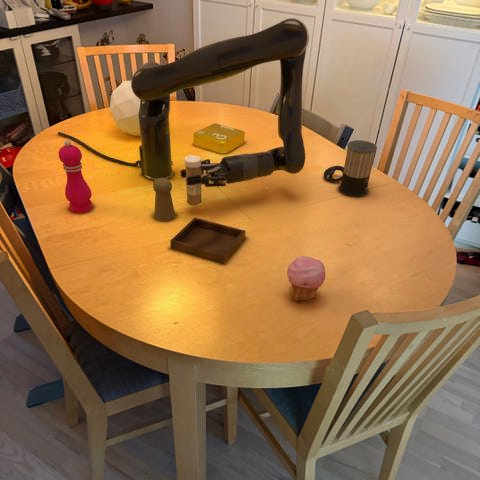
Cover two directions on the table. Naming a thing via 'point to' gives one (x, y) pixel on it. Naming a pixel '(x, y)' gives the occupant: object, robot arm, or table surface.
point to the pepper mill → (75, 179)
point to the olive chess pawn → (163, 200)
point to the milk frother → (355, 168)
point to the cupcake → (305, 277)
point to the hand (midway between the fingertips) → (184, 177)
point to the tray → (208, 240)
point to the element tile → (219, 138)
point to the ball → (125, 109)
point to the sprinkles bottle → (194, 190)
